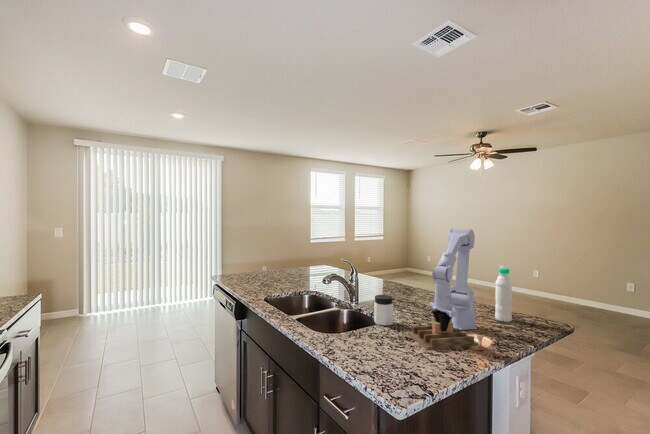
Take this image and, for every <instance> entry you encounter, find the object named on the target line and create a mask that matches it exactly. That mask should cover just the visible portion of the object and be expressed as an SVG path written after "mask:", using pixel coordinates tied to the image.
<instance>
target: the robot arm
mask: <svg viewBox="0 0 650 434" xmlns="http://www.w3.org/2000/svg"><path fill="white" fill-rule="evenodd" d="M447 238H448V246H447V250H446V251H444V252H443V253H442V255H441V257H440V259H439V261H438V264H437V265H435V266H433V268H432V273H431V276H432V280H433V284H434V301H430V302H429V307H431V308H432V310H431V313H432V315H433V317H434V320H435V321H434V322H440V327H441V331H447V328H448V325H449V322H452V323H453V328H459V331H463V330H464V331H465V330H477V329H478V328H477V327H476V326H477V325H476V323H477V322H476V317H477V316H476V311H475V309H474V308H473V306H474V305H475V303H474V302H475V297H474V290H472V288H470V287H469V286H468V281H469V280H468V276H469V264H470V263H469V262H470V251H471V249H474V247H475V246H474V245H475V238H476V236H475V232H474V230H473V229H471V228H469V229H466V228H465V229H463V228H450V229H449V230H448V235H447ZM456 255H457V256H456ZM455 264H456V275H455V284H454V285H452V286H451V281H452V279H453V274H454V273H453V272H454V267H455Z"/></svg>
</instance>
